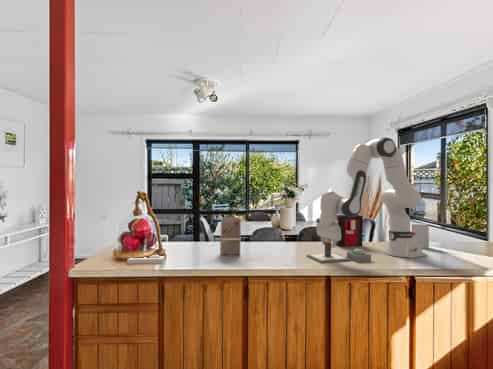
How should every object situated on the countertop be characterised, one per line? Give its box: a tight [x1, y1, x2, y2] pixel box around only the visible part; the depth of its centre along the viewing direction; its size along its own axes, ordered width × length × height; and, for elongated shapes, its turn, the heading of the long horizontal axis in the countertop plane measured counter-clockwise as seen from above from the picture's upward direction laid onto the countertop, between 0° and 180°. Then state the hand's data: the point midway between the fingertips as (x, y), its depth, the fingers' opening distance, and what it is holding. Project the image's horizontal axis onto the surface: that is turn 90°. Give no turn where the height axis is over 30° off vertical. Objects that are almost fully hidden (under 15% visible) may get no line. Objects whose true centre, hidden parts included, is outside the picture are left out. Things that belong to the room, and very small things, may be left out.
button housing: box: [346, 251, 372, 263], centre depth 189 cm, size 9×9×4 cm
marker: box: [324, 238, 332, 257], centre depth 191 cm, size 4×4×10 cm
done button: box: [353, 248, 364, 255], centre depth 189 cm, size 5×5×3 cm
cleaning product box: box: [335, 214, 363, 248], centre depth 231 cm, size 16×9×20 cm, turn 98°
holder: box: [126, 255, 166, 265], centre depth 201 cm, size 45×18×3 cm, turn 6°
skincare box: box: [411, 222, 430, 250], centre depth 225 cm, size 8×7×16 cm
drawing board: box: [306, 252, 351, 264], centre depth 192 cm, size 18×16×1 cm
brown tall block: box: [219, 211, 242, 257], centre depth 199 cm, size 8×12×26 cm
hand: (328, 246), depth 192 cm, fingers open, 8 cm apart
